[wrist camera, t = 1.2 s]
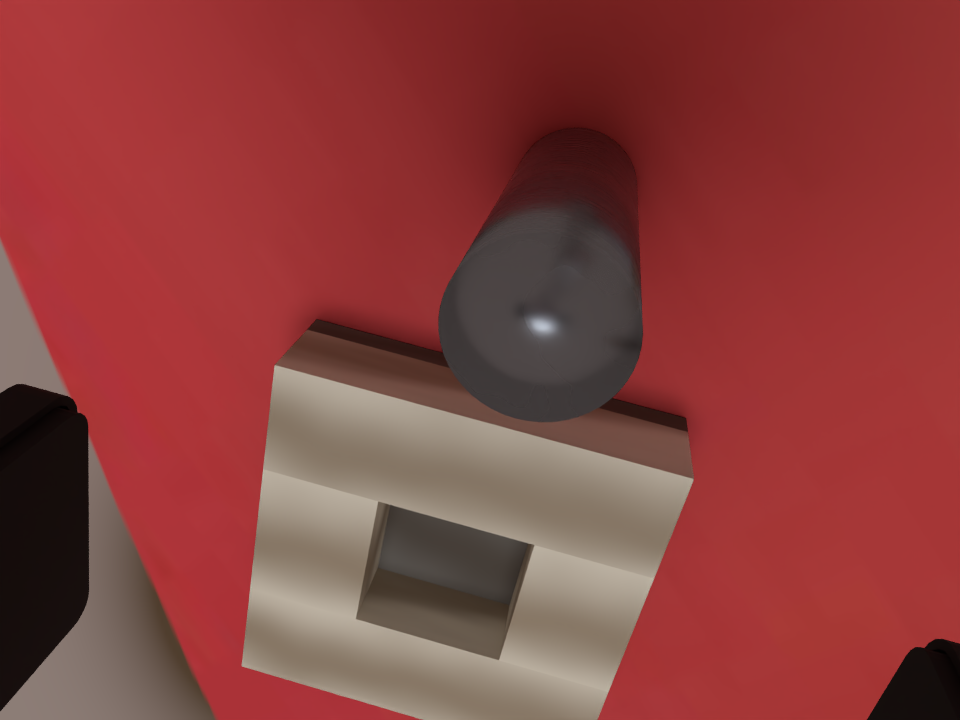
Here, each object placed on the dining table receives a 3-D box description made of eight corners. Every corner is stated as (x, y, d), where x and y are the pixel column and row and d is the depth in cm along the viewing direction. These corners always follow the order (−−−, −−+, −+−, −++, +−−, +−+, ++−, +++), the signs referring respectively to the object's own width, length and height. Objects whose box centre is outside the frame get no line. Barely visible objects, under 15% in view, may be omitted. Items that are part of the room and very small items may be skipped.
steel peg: (530, 114, 26) (460, 209, 15) (653, 144, 26) (670, 263, 15) (502, 232, 28) (422, 393, 17) (617, 262, 27) (609, 443, 17)
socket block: (316, 319, 30) (274, 364, 27) (685, 418, 29) (693, 478, 26) (279, 598, 36) (241, 666, 33) (583, 686, 36) (578, 765, 32)
